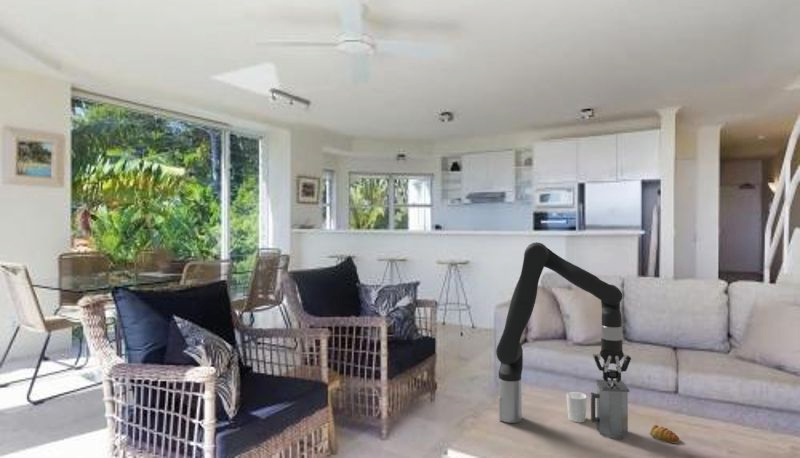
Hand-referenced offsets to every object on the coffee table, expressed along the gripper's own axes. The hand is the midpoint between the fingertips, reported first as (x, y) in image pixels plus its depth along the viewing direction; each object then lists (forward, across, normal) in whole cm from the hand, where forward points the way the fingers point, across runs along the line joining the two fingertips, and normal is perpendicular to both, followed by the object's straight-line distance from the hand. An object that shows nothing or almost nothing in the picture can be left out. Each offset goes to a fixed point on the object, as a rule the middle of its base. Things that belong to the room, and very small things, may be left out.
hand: (612, 381), depth 181 cm
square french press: (+20, -1, 0) cm, 20 cm away
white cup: (+20, -11, +11) cm, 26 cm away
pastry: (+21, +18, -2) cm, 27 cm away
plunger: (+11, 0, 0) cm, 11 cm away
